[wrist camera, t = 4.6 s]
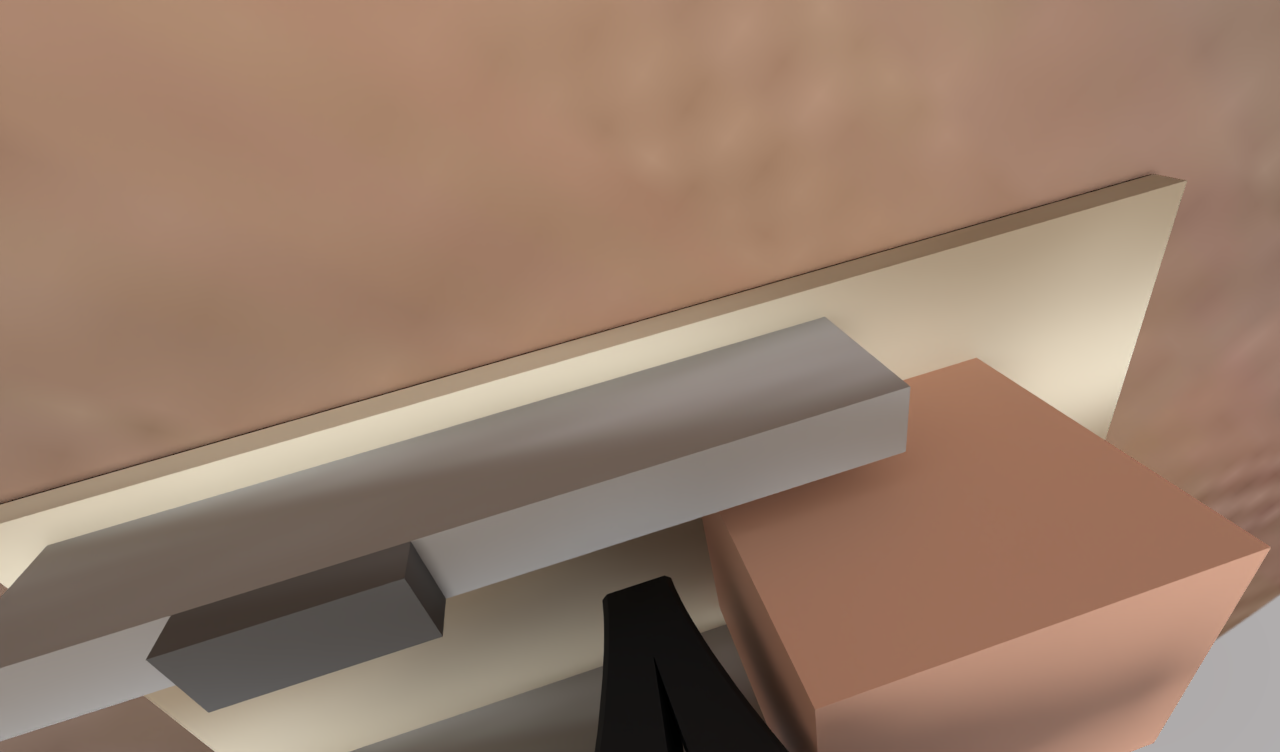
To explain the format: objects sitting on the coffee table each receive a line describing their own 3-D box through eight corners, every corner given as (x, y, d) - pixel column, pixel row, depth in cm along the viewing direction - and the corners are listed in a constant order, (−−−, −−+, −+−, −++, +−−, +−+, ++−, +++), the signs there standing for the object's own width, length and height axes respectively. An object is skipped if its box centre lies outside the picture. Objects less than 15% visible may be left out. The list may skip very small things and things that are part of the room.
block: (951, 530, 14) (1153, 743, 10) (719, 607, 13) (824, 868, 9) (976, 357, 11) (1270, 547, 7) (687, 446, 11) (815, 709, 6)
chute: (1052, 533, 16) (1183, 647, 13) (303, 788, 14) (252, 991, 11) (1153, 173, 11) (1419, 224, 8) (-24, 511, 9) (-293, 753, 6)
